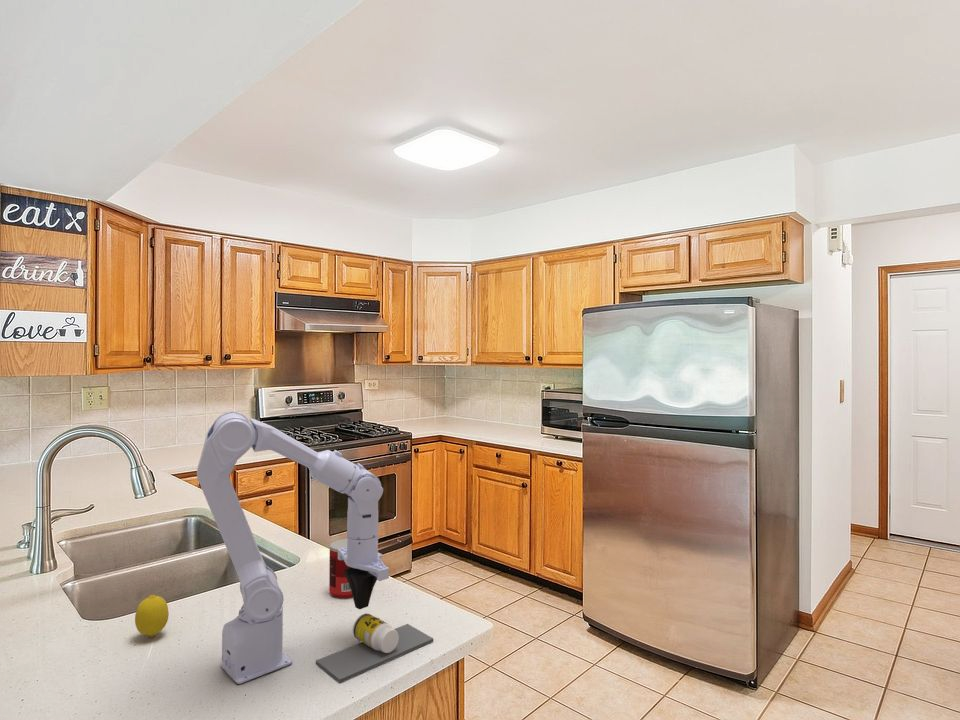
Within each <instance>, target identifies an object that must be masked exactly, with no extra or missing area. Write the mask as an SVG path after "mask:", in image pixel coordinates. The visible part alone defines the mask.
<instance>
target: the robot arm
mask: <svg viewBox="0 0 960 720" xmlns="http://www.w3.org/2000/svg"><path fill="white" fill-rule="evenodd" d="M249 419H250V420H249ZM249 419H248V418H247V417H246V416H245V415H244V414H242V413H240V412H237V411H228V412H224V413H222V414H220V415H219V416H218V417H216V419H215V420H214V422H213V424H211V426H210V427H209V429H208V431H206V435H205V439H204V444H203V447H202V451H201V454H200V458H199V461H198V465H197V468H196V477H197V478H196V479H197V480H198V484H199V486H200V488H201V490H202V492H203V496H204V497H205V500H206V502H207V505H208V507H209V510H210V512H211V515H212V517H213V519H214V521H215V524H216V526H217V529H218V531H219V534H220V535H221V538H222V540H223V543H224V545H225V547H226V551H227V553H228V555H229V557H230V559H231V562H232V564H233V567H234V569H235V572H236V574H237V578H238V581H239V589H240V590H239V591H240V594H241V597H242V602H243V604H242V605H241V607H240V609H239V610H238V615H237V616H236V617H235V618H233V619H232V620H230V621H228V622H226V623H224V624H223V628H222V632H221V663H220V667H221V668H222V669H223V671H225V673H227V675H228V676H229V677H230V678H231V679H232V680H233V681H234V682H235V683H236V684H237V685H240V684H243V683H246V682H248V681H251V680H253V679H255V678H258V677H261V676H263V675H267V674H268V673H271V672H274V671H276V670H278V669H282V668H284V667H287V666H290V665H292V662H293V660H292V659H291V658H290V657H288V656H287V655H286V654H285V653H284V652H283V645H284V643H283V637H284V636H283V635H284V633H283V632H284V629H283V625H284V624H283V623H284V619H283V618H284V617H283V616H284V611H283V610H284V607H283V605H284V599H285V598H284V594H283V591H282V589H281V587H280V585H279V583H278V578H277V574H276V573H275V571H274V570H273V569H272V568H271V567H269V566H268V565H267V564H266V562H265V560H264V558H263V556H262V555H263V554H262V553H261V552H260V549H259V546H258V544H257V541H256V539H255V537H254V534H253V532H252V529H251V527H250V524H249V522H248V519H247V517H246V515H245V512H244V510H243V507H242V505H241V502H240V500H239V498H238V495H237V492H236V490H235V488H234V485H233V483H232V481H231V479H230V474H231V473H232V471H233V469H234V468H235V465H236V464H237V463H238V460H240V459H241V458H242V457H243V456H244V455H245V454H246V453H247V452H249V450H250V449H251V448H252V450H253V452H255V453H257V452H265V451H272V452H274V453H276V454H278V455H281V456H283V457H285V458H287V459H289V460H290V461H291V460H292V461H293V462H295V463H298V464H300V465H302V466H304V467H306V468H308V469H309V473H310V476H311V479H312V480H315V481H317V482H319V483H321V484H322V485H324V486H327V487H329V488H331V489H332V490H334V491H336V492H338V493H340V494H345V495H347V496H348V497H347V512H346V513H347V515H346V516H347V518H346V519H347V521H346V524H347V525H346V526H347V527H346V528H347V529H346V539H347V547H346V548H342V549H338V559H339V560H344V561H345V563H346V565H347V566H349V567H350V568H348V569H345V570H344V575H345V577H346V578H347V580H348V583H349V585H350V588H351V591H352V595H353V597H352V599H353V604H354V607H355V608H356V609H357V610H362V609H366V608H367V607H368V608H369V605H370V601H371V597H372V593H373V590H374V587H375V584H376V583H377V581H379V582H381V581H384V580H387V579H390V568H389V567H388V566H386V565H385V564H384V562H383V561H382V559H383V553H380V552H379V500H380V499H381V498H382V496H383V493H384V487H382V483H381V480H380V479H379V478H378V477H377V476H376V475H374V474H373V473H372V472H370V471H369V470H367V468H365V467H364V465H362V464H360V463H359V462H358V463H353V462H352V461H349V460H348V459H346V458H344V457H343V453H341V452H340V451H338V450H336V449H334V450H333V451H332V450H330V449H325V450H323V451H318V452H317V451H315V450H314V449H313V448H311V447H308V446H307V445H305V444H303V443H302V442H300V441H298V440H296V439H295V438H293V437H291V436H290V435H287V434H286V433H284V432H283V431H281V430H279V429H277V428H276V427H274V426H272V425H271V424H267V423H265V422H262V421H259V419H255V418H252V417H250V418H249ZM250 421H251V422H252V423H251V422H250Z"/></svg>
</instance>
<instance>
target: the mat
mask: <svg viewBox="0 0 960 720" xmlns="http://www.w3.org/2000/svg"><path fill="white" fill-rule="evenodd" d="M393 629H394V630H396V631H397V632H398V635H399V640H398V644H397V646H396V647H395V649H394V650H393V651H391V652H389V653H384V652H382V651H381V650H380V651H377V650H375V649H373V648H371V647H369V646H368V645H366V644H364V643H363V642H361V641H360V642H359V643H355V644H353V645H351V646H348V647H346V648H344V649H341V650H338V651H336V652H334V653H331V654H328V655H325V656H324V657H321V658H319V659H315V664H316V665H317V666H318V667H319V668H320V669H321V670H323V671H324V672H325V673H326V674H328V676H330V677H331V678H333V679H334V680H335V681H336V682H338V683H339V684H340V683H344V682H346V681H347V680H348V681H349V680H350V679H352V678H355V677H357V676H359V675H361V674H363V673H366V672H368V671H370V670H372V669H375V668H377V667H379V666H382V665H384V664H386V663H389V662H391V661H393V660H395V659H398V658H400V657H402V656H404V655H406V654H407V655H408V654H409V653H411V652H414V651H415V650H418V649H420V648H422V647H424V646H427V645H429V644H431V643H434V637H431V636H430V635H428V634H427V633H424V632H423V631H421V630H420V629H417V627H414V626H412V625H410V624H409V623H407V624H403V625H401V626H399V627H396V628H393Z"/></svg>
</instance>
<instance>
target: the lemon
mask: <svg viewBox="0 0 960 720" xmlns="http://www.w3.org/2000/svg"><path fill="white" fill-rule="evenodd" d="M168 620H169V606H168V603H167V601H166V600H165V599H164V598H163V597H162V596H158V595H155V594H151V595H149V596H148V597H147V598H146V597H145V598H144V599H143V600H142V601H140V602H139V605H138V606H137V609H136V611H135V614H134V624H135V628H136V630H137V631H138V632H139V633H140V634H142V635H143V636H148V637H149V638H154V637H155V636H156V635H157V634H159V633H160V632H161V631H162V630H163V629H165V627H166V625H167V623H168Z"/></svg>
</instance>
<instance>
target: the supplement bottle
mask: <svg viewBox="0 0 960 720" xmlns="http://www.w3.org/2000/svg"><path fill="white" fill-rule="evenodd" d="M394 629H395V628H393V627H392V626H391V625H390V624H389V623H388V622H385V621H384V620H382V619H380V618H378V617H376V616H374V615H372V614H370V613H362V614H361V615H359V616H358V617H357V618H356V619H355V621H354V623H353V626H352V634H353V637H354V638H355V639H356V640H358V641H359V642H360V643H361V642H363V643H364V644H366V645H368V646H369V647H371V648H373V649H375V650H377V651H380V650H381V651H382V652H384V653H389V652H391V651H393V650H394V649H395V647H396V646H397V644H398V640H399V635H398V632H397V631H396V630H394Z"/></svg>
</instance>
